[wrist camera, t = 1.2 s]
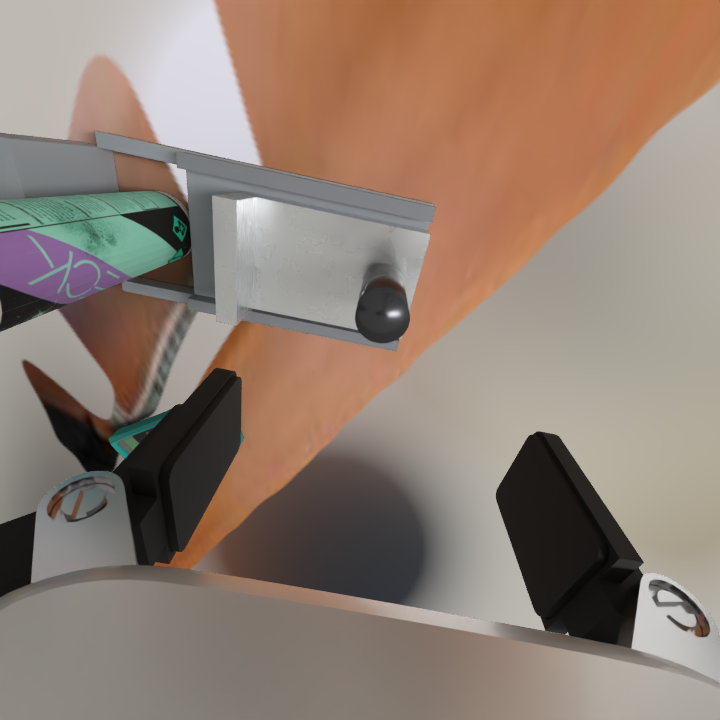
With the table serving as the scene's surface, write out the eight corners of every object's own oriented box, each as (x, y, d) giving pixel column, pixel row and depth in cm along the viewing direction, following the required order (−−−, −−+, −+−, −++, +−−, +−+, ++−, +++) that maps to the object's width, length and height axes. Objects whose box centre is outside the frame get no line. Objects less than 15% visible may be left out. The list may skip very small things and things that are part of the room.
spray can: (131, 245, 29) (-255, 353, 11) (132, 179, 26) (-370, 187, 9) (193, 268, 29) (-85, 402, 12) (200, 205, 27) (-144, 261, 9)
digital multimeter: (250, 434, 40) (241, 452, 37) (159, 466, 43) (145, 484, 41) (213, 387, 37) (200, 403, 34) (119, 426, 40) (101, 443, 38)
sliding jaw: (245, 191, 25) (180, 199, 17) (427, 230, 25) (446, 255, 17) (244, 297, 29) (191, 342, 21) (400, 329, 29) (405, 385, 21)
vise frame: (76, 126, 25) (-46, 106, 18) (432, 203, 26) (449, 213, 19) (107, 280, 31) (25, 311, 24) (395, 339, 31) (397, 385, 24)
